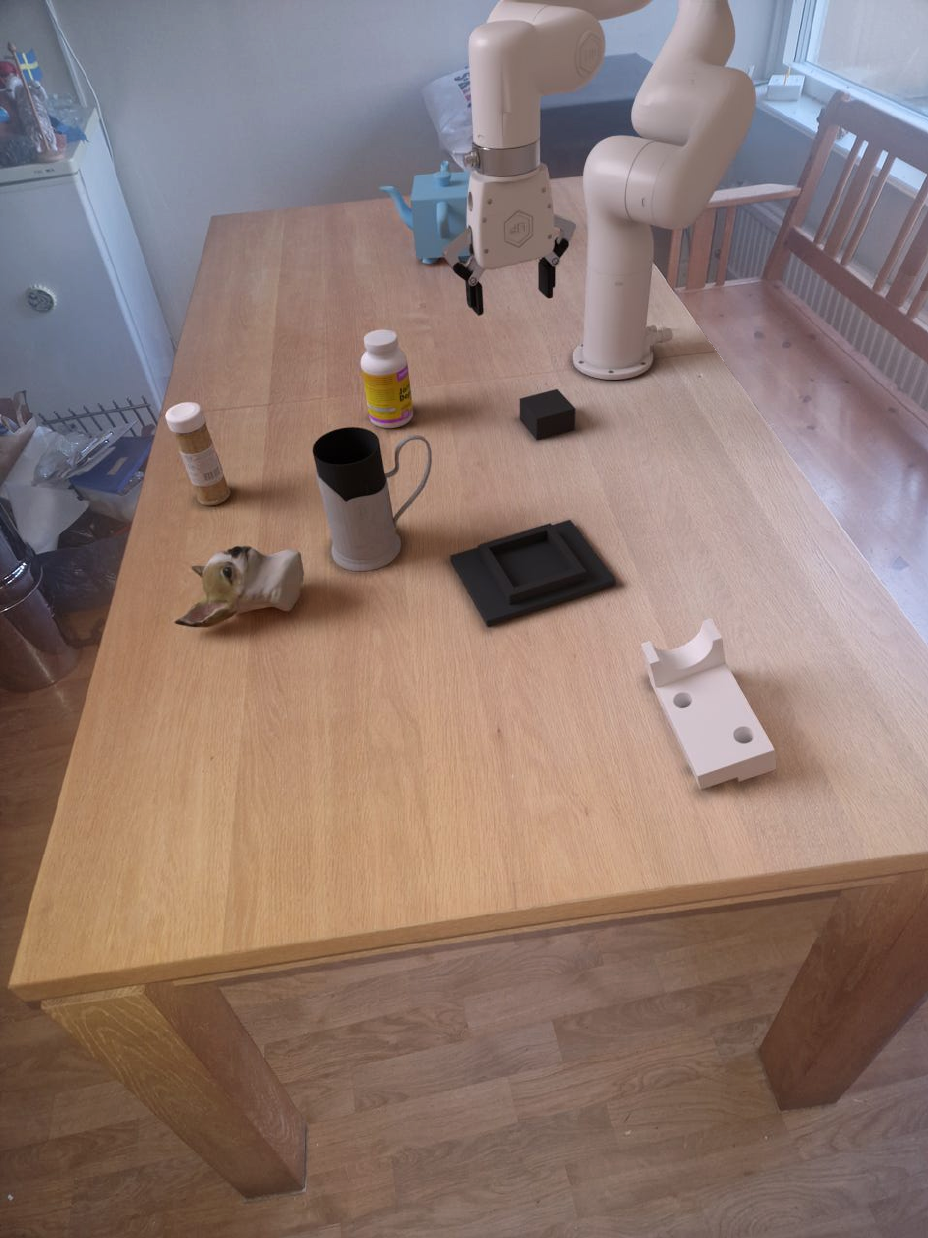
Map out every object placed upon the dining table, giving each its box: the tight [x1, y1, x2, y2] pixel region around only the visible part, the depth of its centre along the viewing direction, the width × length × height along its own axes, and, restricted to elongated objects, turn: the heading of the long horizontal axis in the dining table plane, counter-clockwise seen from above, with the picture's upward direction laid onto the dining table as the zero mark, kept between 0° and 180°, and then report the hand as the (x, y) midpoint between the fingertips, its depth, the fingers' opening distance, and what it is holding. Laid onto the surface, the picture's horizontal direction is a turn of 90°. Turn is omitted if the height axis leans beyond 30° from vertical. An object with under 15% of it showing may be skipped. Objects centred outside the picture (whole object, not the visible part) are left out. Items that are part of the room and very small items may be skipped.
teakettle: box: [378, 160, 472, 265], centre depth 157 cm, size 19×19×15 cm
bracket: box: [640, 618, 777, 791], centre depth 75 cm, size 13×7×8 cm, turn 11°
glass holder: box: [312, 426, 433, 572], centre depth 95 cm, size 9×14×15 cm, turn 113°
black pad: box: [519, 388, 576, 441], centre depth 115 cm, size 6×6×4 cm
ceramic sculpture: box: [173, 545, 305, 628], centre depth 91 cm, size 11×9×15 cm
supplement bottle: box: [360, 328, 414, 429], centre depth 115 cm, size 7×7×13 cm
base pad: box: [449, 519, 617, 628], centre depth 94 cm, size 16×12×2 cm
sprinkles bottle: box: [164, 401, 231, 506], centre depth 104 cm, size 5×5×13 cm
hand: (511, 302), depth 103 cm, fingers open, 9 cm apart
